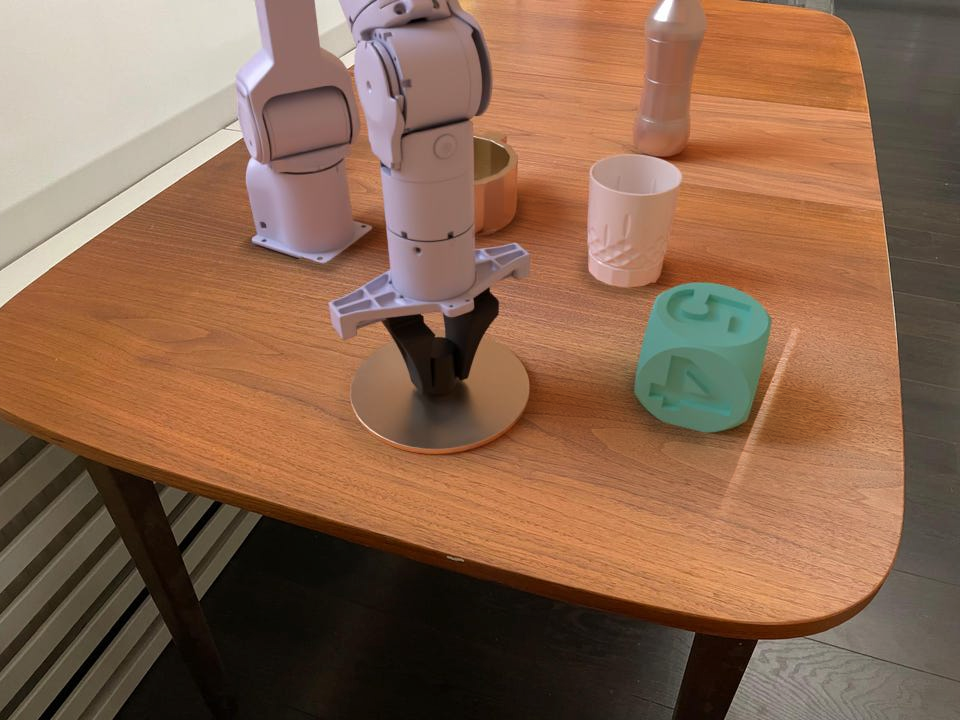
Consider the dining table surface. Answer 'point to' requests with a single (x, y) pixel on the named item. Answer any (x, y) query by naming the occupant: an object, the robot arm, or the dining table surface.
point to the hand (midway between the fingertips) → (439, 379)
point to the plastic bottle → (668, 76)
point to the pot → (494, 182)
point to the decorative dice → (702, 356)
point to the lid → (440, 398)
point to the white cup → (630, 217)
